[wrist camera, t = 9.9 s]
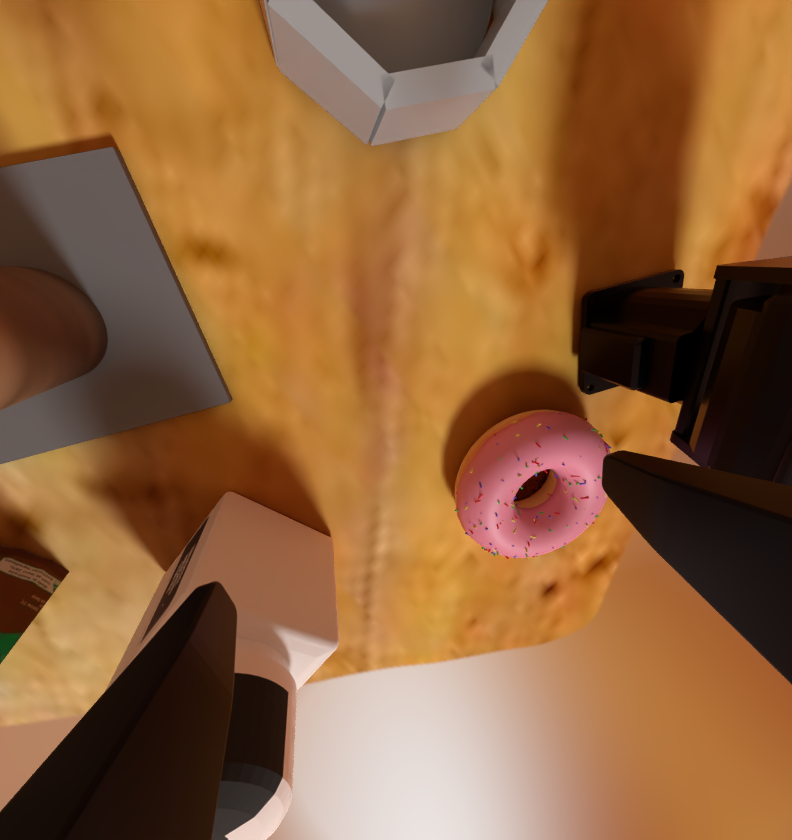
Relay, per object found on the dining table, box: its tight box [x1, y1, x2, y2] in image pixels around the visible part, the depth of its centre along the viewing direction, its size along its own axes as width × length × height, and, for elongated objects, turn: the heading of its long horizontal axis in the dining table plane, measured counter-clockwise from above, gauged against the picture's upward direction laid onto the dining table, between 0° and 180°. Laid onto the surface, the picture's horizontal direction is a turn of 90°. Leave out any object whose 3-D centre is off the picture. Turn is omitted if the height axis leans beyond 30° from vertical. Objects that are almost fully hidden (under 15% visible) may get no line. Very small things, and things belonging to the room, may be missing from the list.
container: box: [106, 491, 339, 840], centre depth 17 cm, size 8×8×13 cm
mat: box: [0, 147, 232, 464], centre depth 15 cm, size 12×11×1 cm
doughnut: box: [455, 410, 611, 559], centre depth 23 cm, size 11×11×4 cm
